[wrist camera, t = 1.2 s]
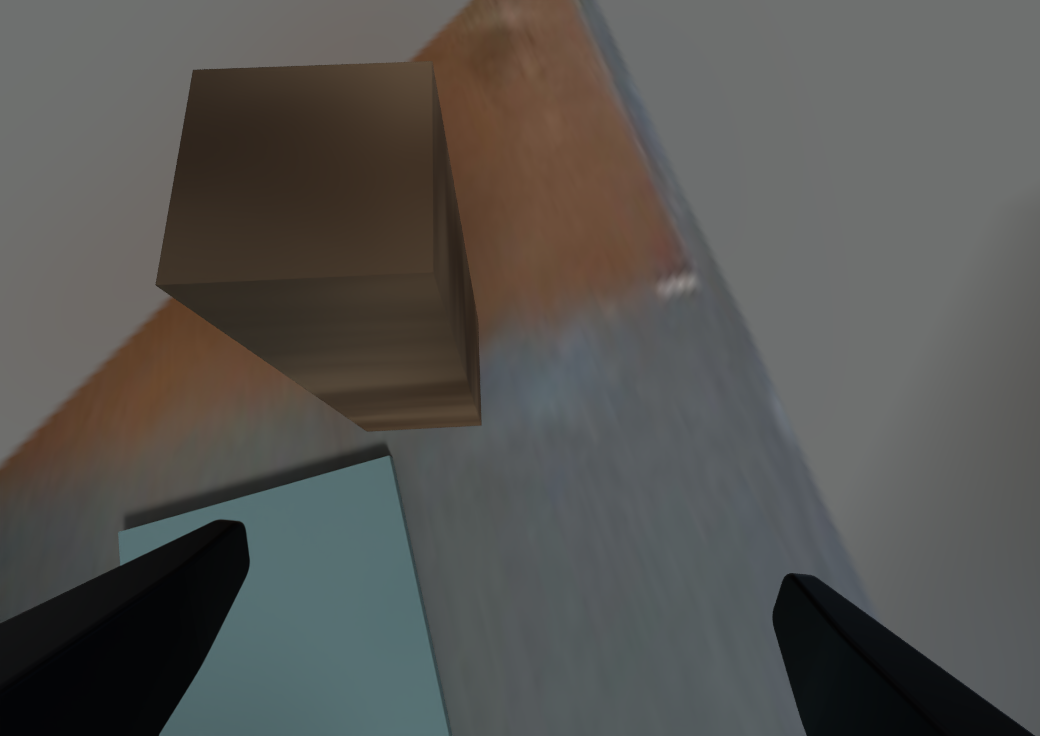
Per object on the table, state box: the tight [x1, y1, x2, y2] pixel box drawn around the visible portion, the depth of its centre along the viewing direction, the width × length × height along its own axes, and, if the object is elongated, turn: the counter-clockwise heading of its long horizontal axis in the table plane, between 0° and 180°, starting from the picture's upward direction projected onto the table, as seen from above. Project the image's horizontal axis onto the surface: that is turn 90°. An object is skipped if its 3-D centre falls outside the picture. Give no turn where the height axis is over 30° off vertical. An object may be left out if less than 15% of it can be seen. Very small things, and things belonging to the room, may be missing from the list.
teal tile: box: [118, 456, 452, 736], centre depth 20 cm, size 11×11×1 cm
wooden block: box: [156, 61, 481, 431], centre depth 17 cm, size 5×5×14 cm
